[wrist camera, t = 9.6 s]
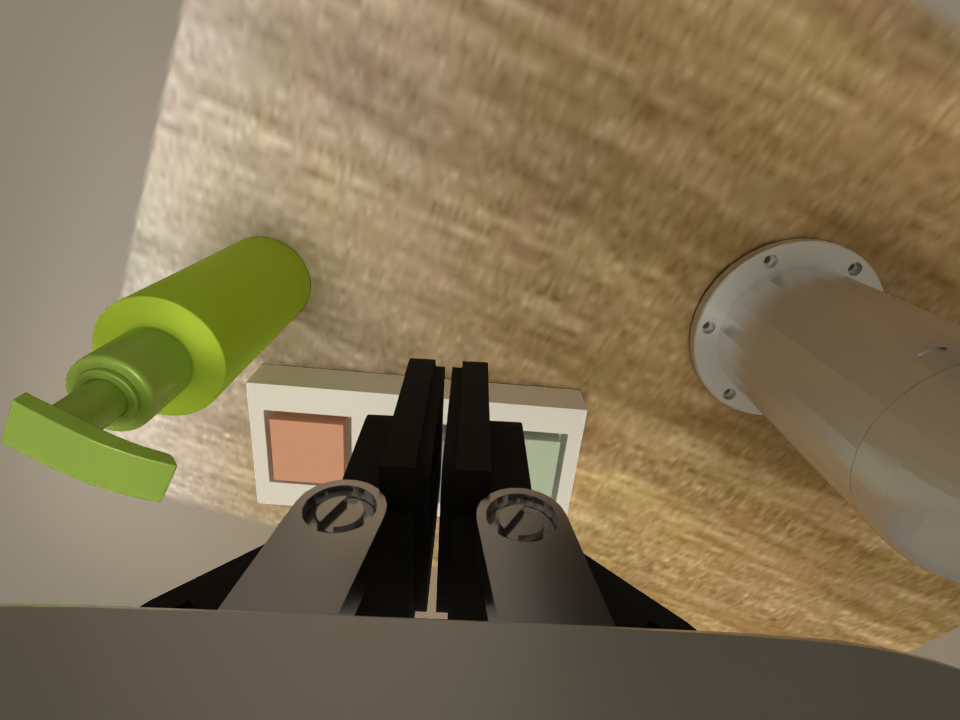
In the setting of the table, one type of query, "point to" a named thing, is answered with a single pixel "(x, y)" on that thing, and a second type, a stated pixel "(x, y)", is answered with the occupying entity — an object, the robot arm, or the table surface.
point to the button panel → (379, 397)
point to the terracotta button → (309, 446)
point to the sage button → (542, 459)
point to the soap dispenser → (161, 364)
